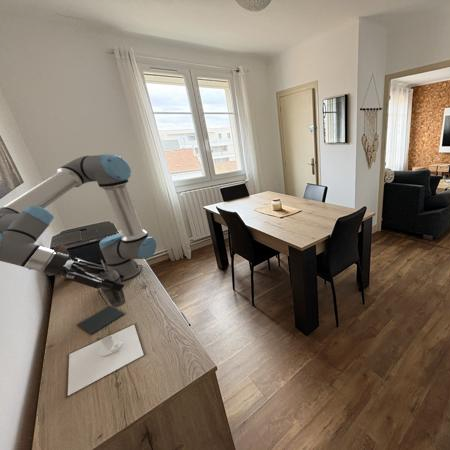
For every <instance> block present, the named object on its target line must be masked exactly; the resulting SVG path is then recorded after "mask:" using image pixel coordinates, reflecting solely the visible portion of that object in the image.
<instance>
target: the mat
mask: <svg viewBox="0 0 450 450" xmlns="http://www.w3.org/2000/svg"><path fill="white" fill-rule="evenodd" d="M124 315H125V313H124V312H122V311H120V310H118V309H116V308H114V307H112V306H111V305H110V306H107V307H106V308H105V307H104V309H102V310H100V311H99V312H96V313H95V314H93V315H91V316H89V317H88V318H86V319H85V320H82V321H80V322H79V323H77V324H76V325H77V326H79V327H80V328H81V329H83V330H84V331H86V332H88V333H89V334H90V335H93V334H95V333H97V332H98V331H100V330H101V329H103V328H104V327H106V326H108V325H110V324H111V323H112V322H115V321H116V320H117V319H119V318H121V317H122V316H124Z"/></svg>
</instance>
